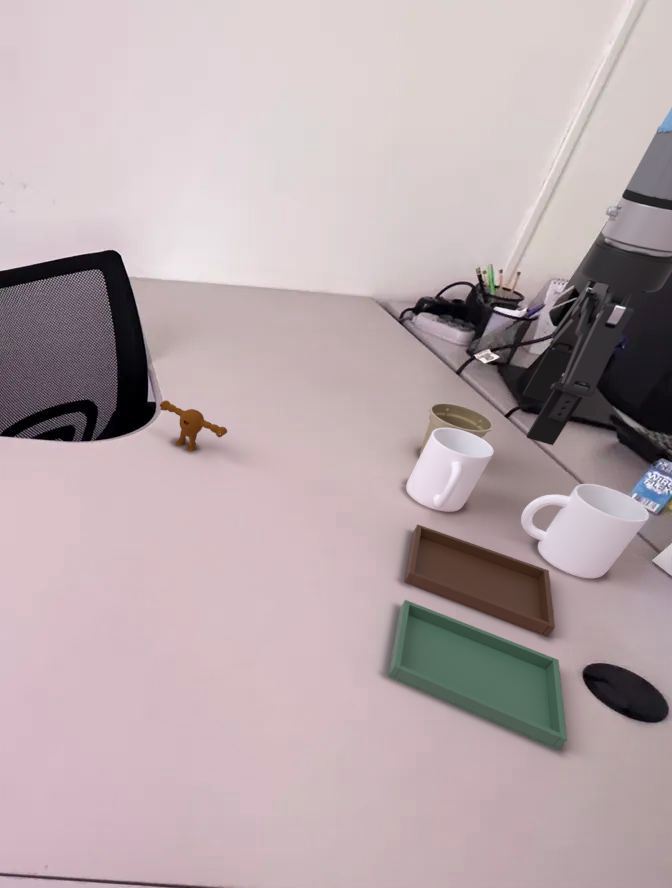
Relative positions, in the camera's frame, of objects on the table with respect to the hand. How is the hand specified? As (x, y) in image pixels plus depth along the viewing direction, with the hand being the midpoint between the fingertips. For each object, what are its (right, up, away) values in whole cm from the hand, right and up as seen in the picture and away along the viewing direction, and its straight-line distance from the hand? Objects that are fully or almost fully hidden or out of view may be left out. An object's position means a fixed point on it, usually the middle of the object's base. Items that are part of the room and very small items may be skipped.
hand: (536, 418), depth 84 cm
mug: (+10, -19, +11) cm, 24 cm away
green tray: (-14, -30, -9) cm, 34 cm away
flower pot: (+5, -5, +30) cm, 31 cm away
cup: (-2, -12, +19) cm, 22 cm away
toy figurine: (-38, -3, +26) cm, 46 cm away
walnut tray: (-5, -21, +4) cm, 22 cm away
